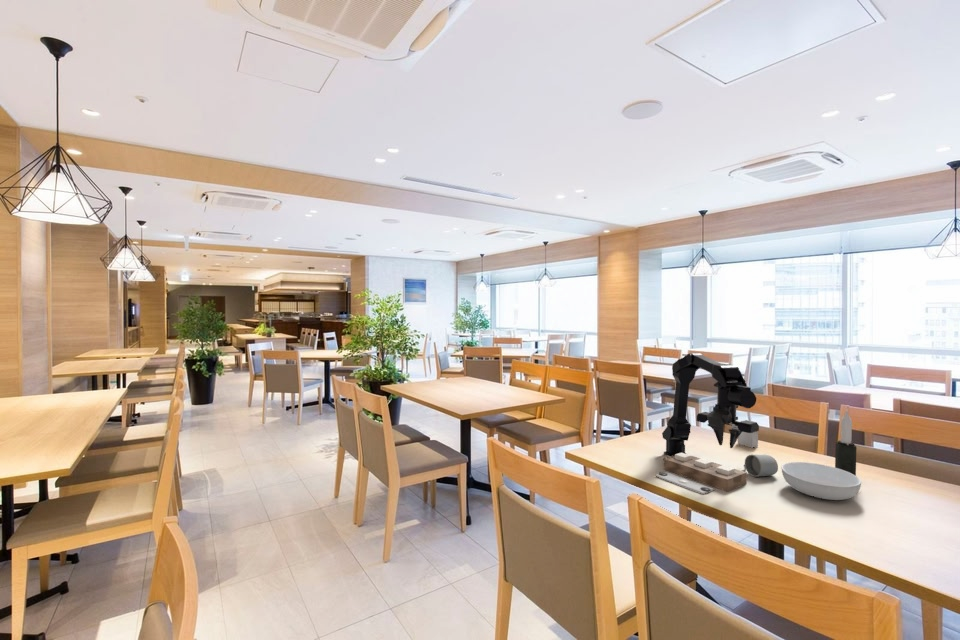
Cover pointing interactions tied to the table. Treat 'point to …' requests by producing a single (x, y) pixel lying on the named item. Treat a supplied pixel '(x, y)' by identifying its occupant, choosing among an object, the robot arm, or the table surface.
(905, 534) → the table surface
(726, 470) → the button
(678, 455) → the button
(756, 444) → the grey angular block
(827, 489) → the serving bowl
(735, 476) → the button board
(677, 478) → the pattern card
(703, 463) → the middle button
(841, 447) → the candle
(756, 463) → the ceramic mug
